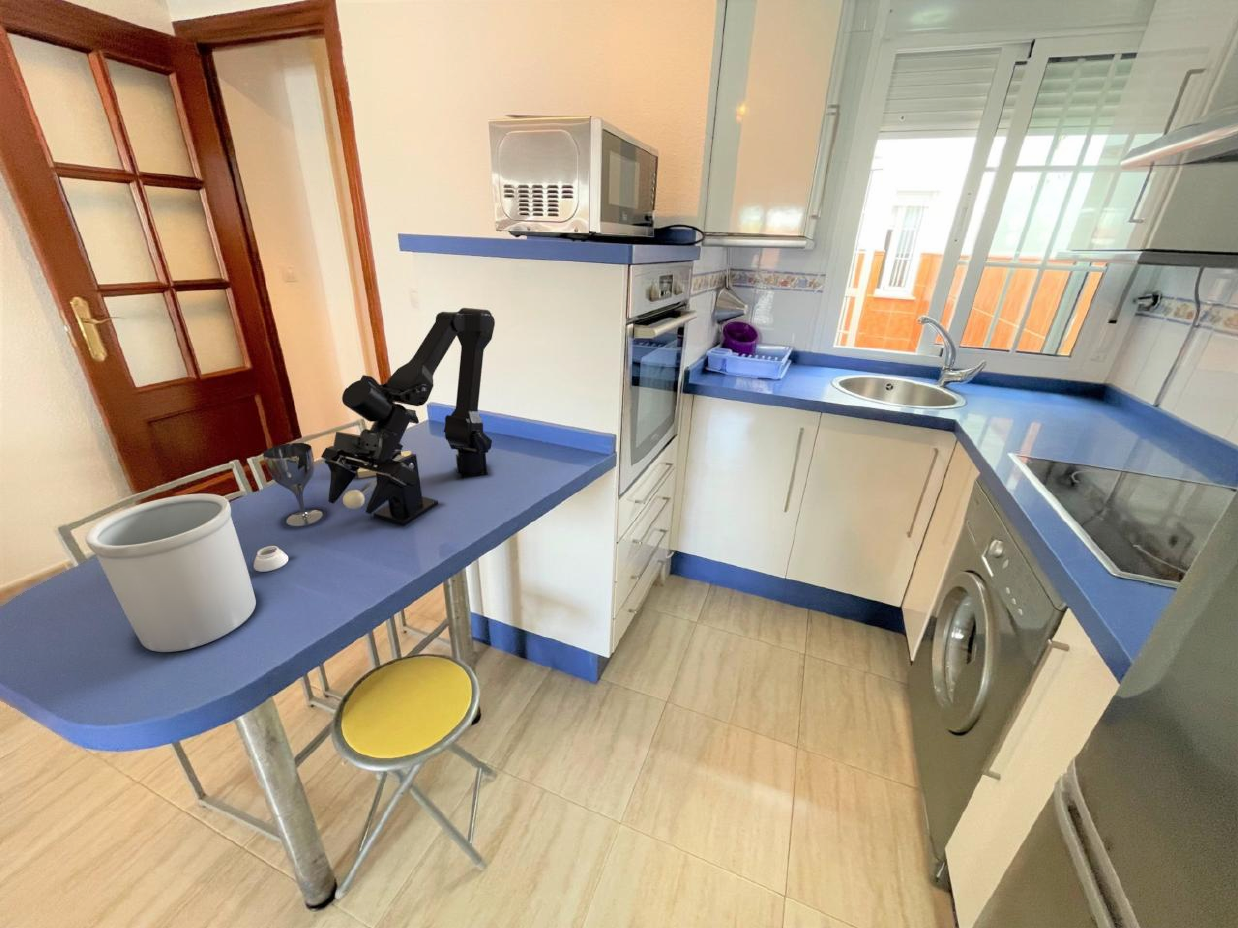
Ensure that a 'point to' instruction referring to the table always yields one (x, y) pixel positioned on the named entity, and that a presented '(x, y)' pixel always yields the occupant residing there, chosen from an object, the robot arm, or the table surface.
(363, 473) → the button box
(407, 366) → the robot arm
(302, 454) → the wine glass
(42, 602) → the table surface
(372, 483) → the lever
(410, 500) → the bracket
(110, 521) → the utensil holder
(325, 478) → the table surface
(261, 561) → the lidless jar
